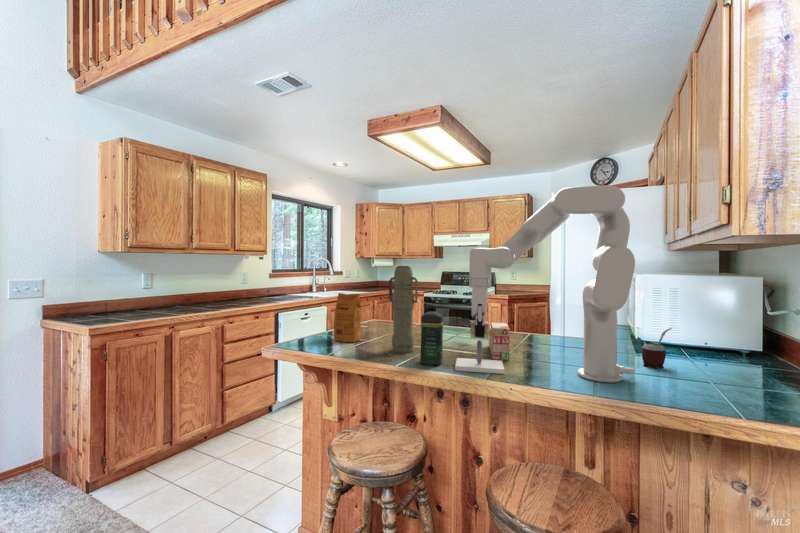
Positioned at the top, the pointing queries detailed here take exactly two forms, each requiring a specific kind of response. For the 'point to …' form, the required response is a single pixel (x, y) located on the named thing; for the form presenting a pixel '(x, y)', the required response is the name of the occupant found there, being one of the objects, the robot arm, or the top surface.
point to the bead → (486, 334)
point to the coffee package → (347, 318)
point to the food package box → (499, 341)
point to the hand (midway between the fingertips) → (479, 334)
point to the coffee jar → (431, 338)
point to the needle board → (479, 363)
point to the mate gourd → (654, 354)
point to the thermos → (403, 309)
